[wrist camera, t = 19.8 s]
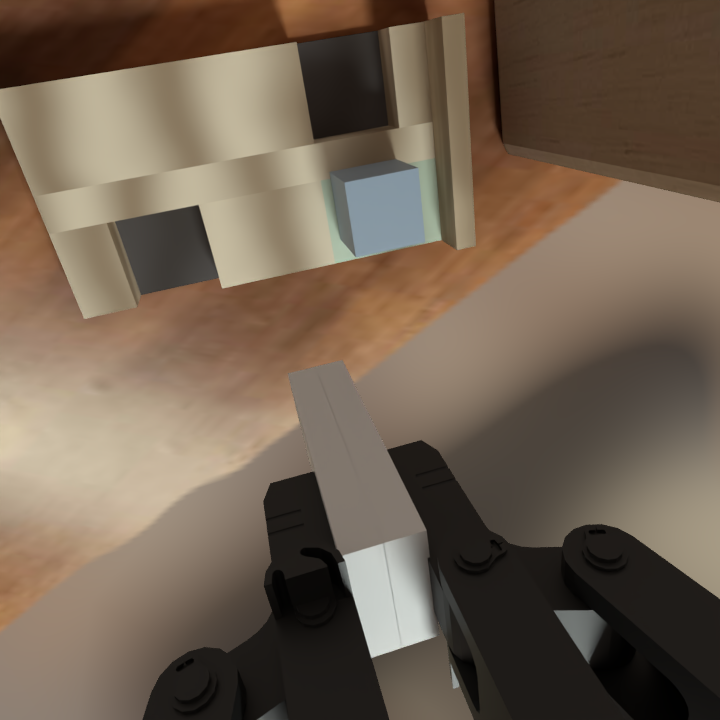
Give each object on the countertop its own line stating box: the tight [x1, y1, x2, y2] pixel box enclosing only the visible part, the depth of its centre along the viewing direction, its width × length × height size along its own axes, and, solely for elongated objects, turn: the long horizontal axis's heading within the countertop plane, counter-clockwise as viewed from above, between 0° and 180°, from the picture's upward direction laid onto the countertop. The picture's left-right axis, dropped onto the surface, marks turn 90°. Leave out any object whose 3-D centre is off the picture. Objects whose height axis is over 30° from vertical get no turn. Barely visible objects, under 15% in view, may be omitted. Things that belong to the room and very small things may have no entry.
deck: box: [0, 13, 476, 319], centre depth 31 cm, size 23×12×5 cm, turn 98°
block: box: [494, 0, 720, 202], centre depth 26 cm, size 10×10×20 cm
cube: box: [329, 159, 425, 257], centre depth 31 cm, size 4×4×4 cm
